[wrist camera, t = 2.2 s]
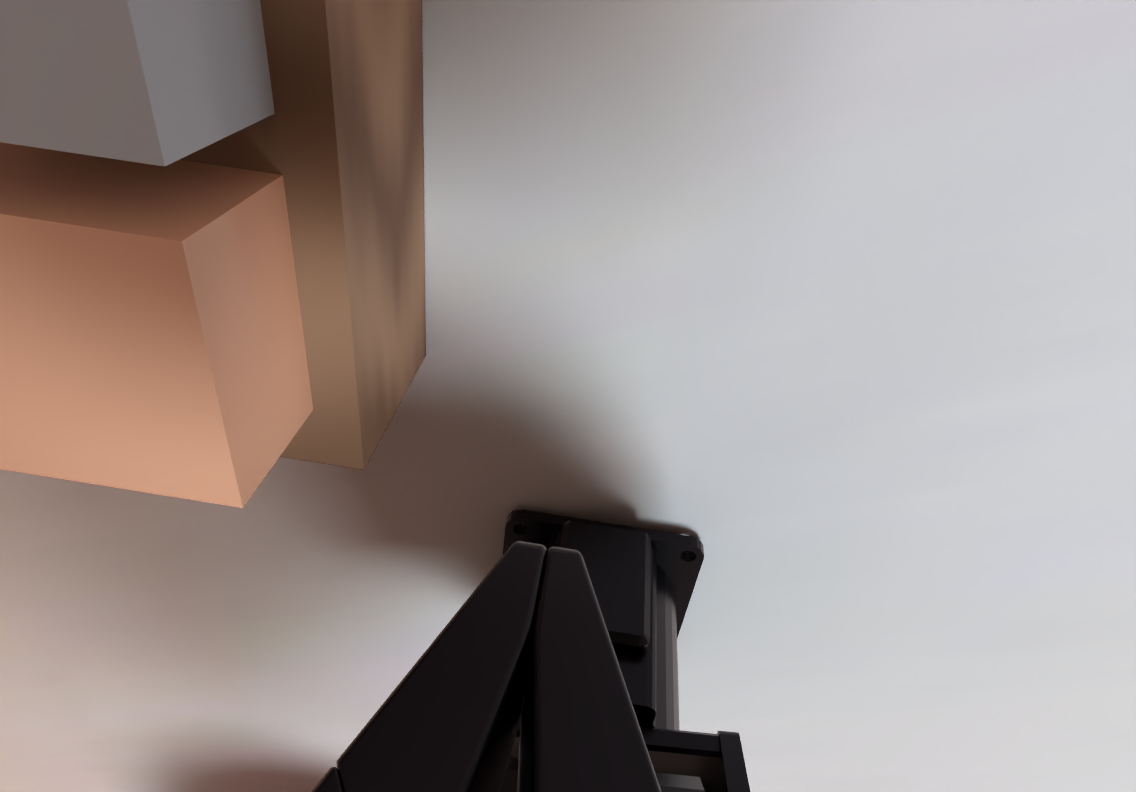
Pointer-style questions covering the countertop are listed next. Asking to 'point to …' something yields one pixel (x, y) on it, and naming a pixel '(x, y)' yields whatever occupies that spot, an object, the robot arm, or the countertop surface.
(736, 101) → the countertop surface
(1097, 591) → the countertop surface
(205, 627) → the countertop surface
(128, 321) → the peach square prism
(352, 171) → the walnut block
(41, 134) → the pale grey squat block
